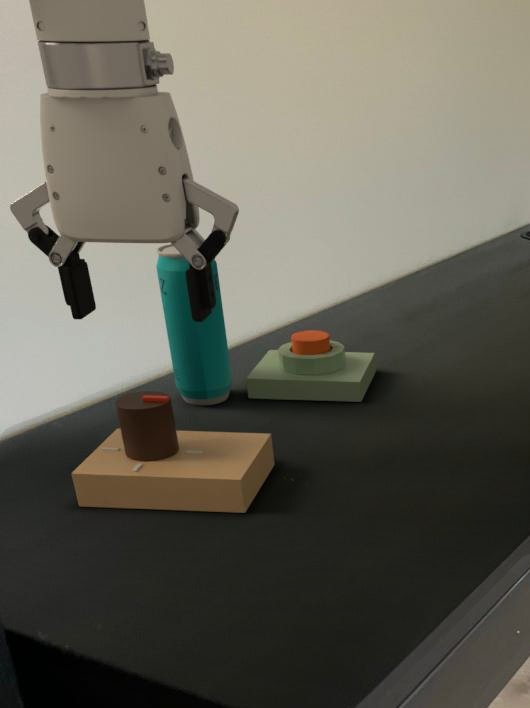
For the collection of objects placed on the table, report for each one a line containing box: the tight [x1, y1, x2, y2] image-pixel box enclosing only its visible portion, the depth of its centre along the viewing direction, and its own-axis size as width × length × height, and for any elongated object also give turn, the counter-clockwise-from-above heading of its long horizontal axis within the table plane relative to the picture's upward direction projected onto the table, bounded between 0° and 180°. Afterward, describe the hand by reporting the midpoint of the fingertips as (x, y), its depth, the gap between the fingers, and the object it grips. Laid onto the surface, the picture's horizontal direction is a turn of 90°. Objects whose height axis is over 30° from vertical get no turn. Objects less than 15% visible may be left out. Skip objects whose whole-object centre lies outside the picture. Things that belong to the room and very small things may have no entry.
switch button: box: [290, 330, 331, 355], centre depth 105 cm, size 4×4×2 cm
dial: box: [114, 390, 179, 461], centre depth 83 cm, size 4×4×5 cm
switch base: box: [245, 339, 377, 403], centre depth 107 cm, size 12×10×4 cm
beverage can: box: [155, 243, 233, 406], centre depth 100 cm, size 6×6×15 cm
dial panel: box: [71, 428, 275, 514], centre depth 85 cm, size 14×10×3 cm
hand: (143, 316), depth 79 cm, fingers open, 9 cm apart
